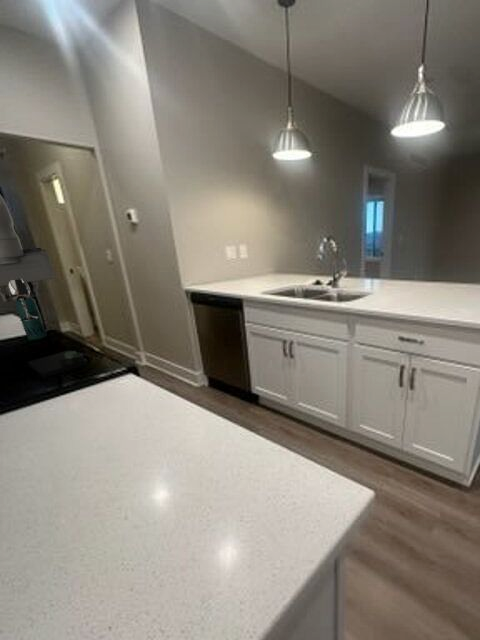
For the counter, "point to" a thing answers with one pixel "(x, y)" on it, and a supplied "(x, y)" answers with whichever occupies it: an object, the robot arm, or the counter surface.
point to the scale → (56, 364)
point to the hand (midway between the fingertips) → (21, 299)
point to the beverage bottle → (34, 326)
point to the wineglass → (19, 294)
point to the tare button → (70, 354)
